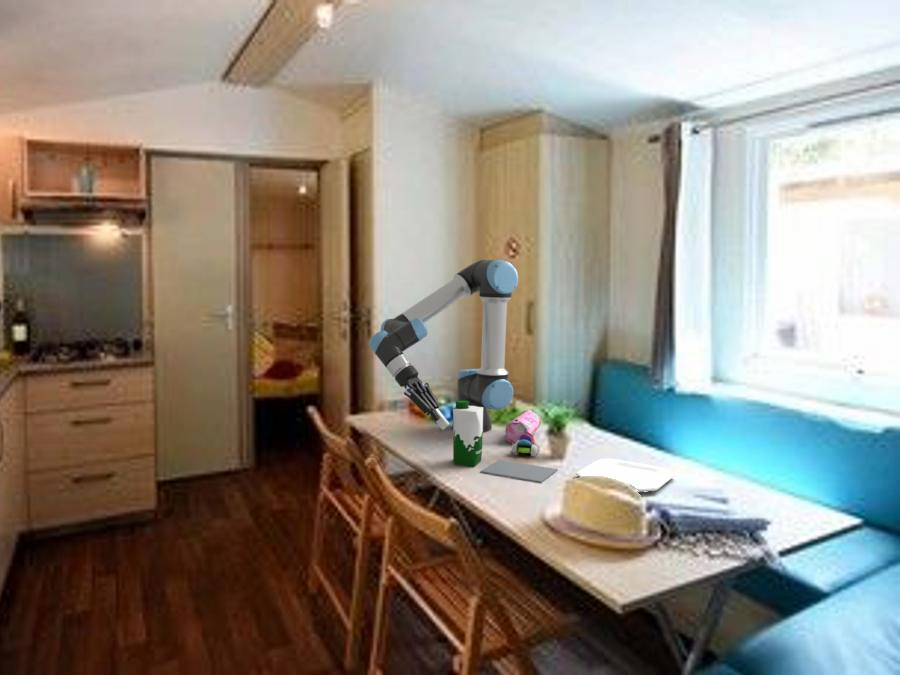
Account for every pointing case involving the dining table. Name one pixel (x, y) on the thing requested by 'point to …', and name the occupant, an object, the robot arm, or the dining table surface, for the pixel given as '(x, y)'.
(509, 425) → the pencil case
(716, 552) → the dining table surface
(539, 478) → the topple mat
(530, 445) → the rainbow cloud toy
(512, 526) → the dining table surface
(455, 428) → the fresh milk carton
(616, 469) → the plate
